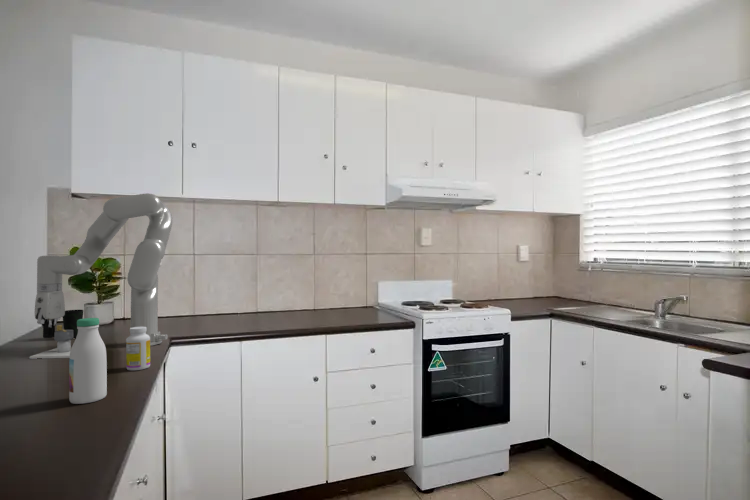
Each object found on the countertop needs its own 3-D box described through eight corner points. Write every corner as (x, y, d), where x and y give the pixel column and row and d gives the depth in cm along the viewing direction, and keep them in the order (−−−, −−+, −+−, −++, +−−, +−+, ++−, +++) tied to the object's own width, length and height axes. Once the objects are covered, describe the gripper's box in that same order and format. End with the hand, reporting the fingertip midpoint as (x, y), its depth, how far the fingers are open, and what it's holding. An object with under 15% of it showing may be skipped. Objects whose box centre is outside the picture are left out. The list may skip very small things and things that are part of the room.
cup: (58, 340, 178) (58, 312, 178) (66, 337, 186) (66, 310, 186) (79, 339, 180) (79, 311, 180) (86, 336, 188) (86, 309, 188)
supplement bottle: (145, 364, 137) (145, 325, 138) (154, 367, 133) (153, 327, 133) (122, 368, 132) (122, 328, 132) (131, 372, 128) (131, 330, 128)
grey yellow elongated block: (75, 341, 154) (75, 327, 154) (56, 343, 150) (56, 329, 150) (67, 336, 162) (67, 323, 162) (49, 339, 158) (49, 325, 158)
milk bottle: (113, 393, 108) (113, 316, 108) (94, 404, 101) (94, 321, 101) (82, 394, 108) (82, 316, 108) (61, 405, 100) (61, 321, 100)
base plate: (95, 348, 161) (95, 335, 161) (71, 357, 147) (71, 343, 147) (57, 349, 160) (57, 336, 161) (29, 358, 147) (29, 344, 147)
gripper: (46, 290, 150) (45, 341, 150) (73, 287, 165) (72, 333, 165) (23, 290, 150) (23, 341, 149) (52, 287, 164) (52, 333, 164)
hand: (48, 337), depth 157 cm, fingers closed
